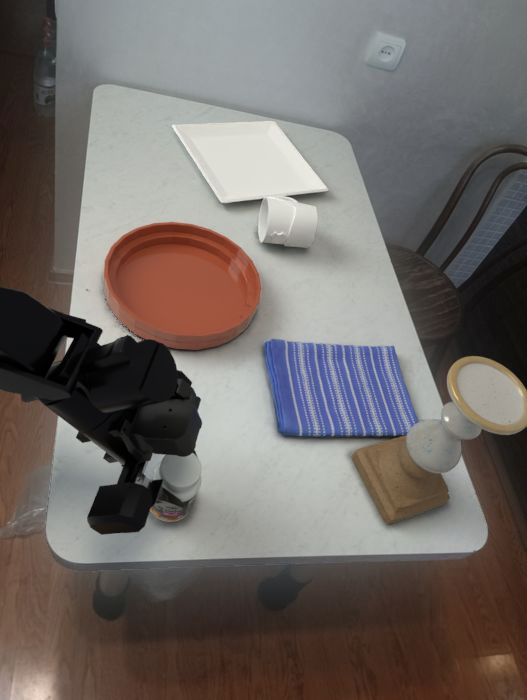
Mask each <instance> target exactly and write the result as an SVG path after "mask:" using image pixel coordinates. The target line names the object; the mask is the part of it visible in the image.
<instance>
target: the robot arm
mask: <svg viewBox="0 0 527 700" xmlns="http://www.w3.org/2000/svg"><path fill="white" fill-rule="evenodd" d="M103 332H104V330H103V329H102V328H101V327H99V326H96V325H94V324H91V323H89V322H87V319H85V318H82V317H78V316H74V315H70V314H67V313H64V312H62V311H58V310H55V309H53V308H51V307H48V306H46V305H45V304H43V303H42V302H41V301H39V300H38V299H36V298H35V297H33V296H32V295H31V294H29V293H28V292H26V291H24V290H20V289H17V288H16V289H15V288H10V287H5V286H1V285H0V391H3V392H6V393H7V392H8V393H11V394H17V395H20V400H21V402H23V403H31V402H35V401H39V402H40V403H41V404H43V405H44V406H45V407H46V408H48V409H49V410H50V411H52V413H54V414H55V415H57V416H58V417H59V418H60V419H62V420H63V421H64V422H66V423H67V424H68V425H70V426H71V427H72V428H74V429H75V430H76V431H77V434H76V436H75V439H76V440H78V441H79V442H81V443H82V444H84V443H91V442H92V443H93V444H94V445H96V446H97V447H98V448H99V449H101V450H102V451H103V452H105V453H104V456H103V458H102V459H103V460H104V461H106V462H107V463H108V464H112V463H119V464H120V466H121V467H122V469H121V472H120V474H119V477H118V479H117V482H116V483H114V484H105V485H99V486H98V489H97V492H96V494H95V496H94V500H93V501H92V503H91V506H90V509H89V512H88V514H87V516H86V523H87V524H88V526H89V528H90V529H92V530H93V531H95V532H96V533H97V534H99V535H102V536H103V535H116V534H131V533H139V532H141V530H143V528H145V527H146V523H147V520H148V517H149V515H150V512H151V511H150V509H151V507H153V506H154V505H157V506H163V507H169V508H176V509H180V508H184V506H185V505H184V503H183V502H182V501H181V500H180V499H179V498H177V497H176V496H175V495H173V494H172V493H170V492H169V491H168V490H166V489H165V488H164V487H162V484H163V479H160V480H152V479H151V480H150V478H148V477H147V475H146V474H145V472H146V470H147V466H148V462H151V460H152V456H153V454H154V455H164V456H165V455H177V456H179V457H186V456H189V455H191V454H192V453H194V454H195V455H196V456H197V457H198V458H199V456H198V454H197V451H196V450H195V449H196V447H197V441H198V437H199V433H200V430H201V429H202V426H203V421H202V418H201V416H200V414H199V412H198V411H199V407H200V405H201V401H202V398H201V397H200V396H197V393H196V391H195V388H193V387H192V385H193V381H192V380H191V379H190V378H189V377H188V376H187V375H186V374H185V373H184V372H183V371H182V370H178V368H177V364H176V360H175V358H174V356H173V354H172V352H171V351H170V349H169V347H167V346H165V345H164V344H163V343H159V342H157V341H155V340H151V339H147V340H146V339H143V340H140V341H139V340H138V341H136V340H135V338H133V336H132V335H125V336H121V337H118V338H116V339H115V340H114V341H111V342H108V343H104V344H102V345H101V344H99V340H100V338H101V336H102V334H103ZM67 338H68V339H69V338H70V339H72V340H71V343H70V344H69V346H68V347H67V350H66V352H65V353H64V356H63V358H62V359H60V360H58V361H57V360H56V359H57V357H58V355H59V353H60V352H61V350H62V347H64V344H65V342H66V340H67ZM55 360H56V361H55Z"/></svg>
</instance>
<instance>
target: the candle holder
mask: <svg viewBox="0 0 527 700" xmlns="http://www.w3.org/2000/svg"><path fill="white" fill-rule="evenodd" d="M446 387H447V391H448V395H449V397H450V399H451V401H448V402H447V403H445V404H444V405H443V406H442V408H441V412H440V417H441V418H439V419H437V418H428V419H423V420H420V421H418V423H416V424H415V425H413V426H412V427H411V428H410V430H409V431H408V434H407V435H405V436H397V437H393V438H391V439H387V440H383V441H381V442H377V443H373V444H370V445H367V446H364V447H361V448H359V449H357V450H355V451H354V453H353V454H352V455H351V459H352V461H353V463H354V466H355V468H356V470H357V472H358V474H359V476H360V477H361V479H362V482H363V484H364V485H365V488H366V490H367V492H368V494H369V495H370V497H371V499H372V501H373V503H374V506H375V507H376V510H377V511H378V513H379V515H380V517H381V518H382V520H383V522H384V523H385V525H392V524H395V523H398V522H400V521H404V520H407V519H410V518H412V517H415V516H417V515H420V514H423V513H425V512H428V511H431V510H433V509H436V508H438V507H441V506H443V505H445V504H446V503H448V501H450V500H451V495H450V494H449V492H450V490H449V487H448V485H447V483H446V480H445V478H444V476H443V474H445V473H448V472H451V471H452V470H453V469H454V468H456V467H457V465H458V464H459V462H460V461H461V458H462V453H463V442H462V441H463V440H465V441H470V440H473V439H476V438H477V437H479V436H480V434H481V433H482V430H483V431H485V432H489V433H491V434H493V435H494V434H495V435H500V436H510V435H516V434H517V433H519V432H522V431H523V430H524V429H525V428H527V389H526V387H525V386H524V384H523V383H522V381H521V380H520V379H519V378H518V377H517V375H515V374H514V373H513V372H512V371H511V370H510V369H509V368H507V367H506V366H504V365H503V364H501V363H499V362H497V361H496V360H493V359H491V358H487V357H484V356H479V355H469V356H464V357H460V358H458V360H456V361H455V362H454V363H453V364H452V365H450V368H449V369H448V373H447V375H446Z"/></svg>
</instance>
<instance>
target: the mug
mask: <svg viewBox="0 0 527 700" xmlns="http://www.w3.org/2000/svg"><path fill="white" fill-rule="evenodd" d="M318 217H319V214H318V209H317V207H316V205H311V204H307V203H302V202H299V201H298V200H297V199H295V198H293V197H290V196H275V197H270V196H269V197H265V198H264V199H262V201H261V204H260V208H259V214H258V223H257V225H258V227H257V230H258V231H257V233H258V239H259V242H260V243H262V244H275V245H283V247H290V248H303V249H308V248H310V247H311V246H312V245H313V242H314V240H315V237H316V234H317V229H318V221H319V220H318V219H319V218H318Z"/></svg>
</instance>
